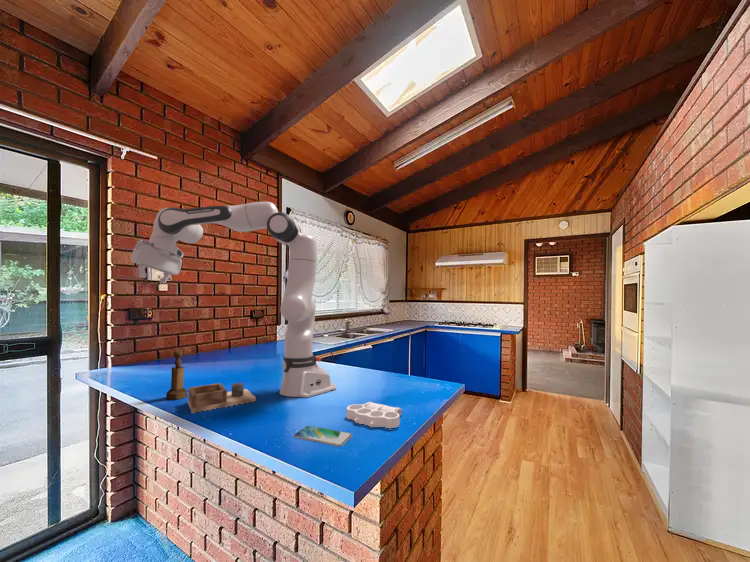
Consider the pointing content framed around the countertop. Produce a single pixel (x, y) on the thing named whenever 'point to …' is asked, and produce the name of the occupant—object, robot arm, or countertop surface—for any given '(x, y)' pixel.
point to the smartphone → (323, 435)
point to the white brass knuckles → (374, 415)
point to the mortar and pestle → (177, 379)
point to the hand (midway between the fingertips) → (152, 280)
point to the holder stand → (217, 397)
